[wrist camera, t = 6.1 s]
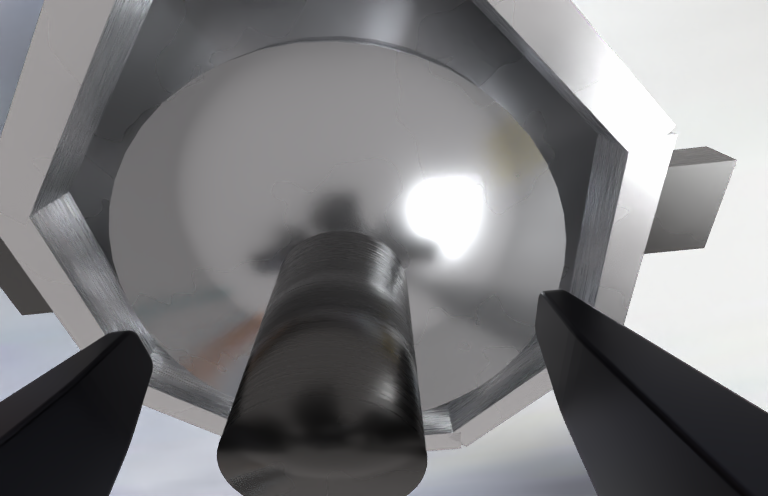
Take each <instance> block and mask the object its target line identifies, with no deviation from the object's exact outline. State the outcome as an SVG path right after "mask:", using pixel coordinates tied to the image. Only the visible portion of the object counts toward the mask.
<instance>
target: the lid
mask: <svg viewBox="0 0 768 496" xmlns="http://www.w3.org/2000/svg"><path fill="white" fill-rule="evenodd" d="M109 238H110V245H111V252H112V259H113V262H114V266H115V269H116V272H117V275H118V279H119V282H120V285H121V287H122V289H123V291H124V293H125V295H126V297H127V299H128V302H129V304H130V306H131V307H132V309H133V311H134V312H135V314H136V315H137V317H138V318H139V320H140V321H141V323H142V324H143V326H144V327H145V329H146V330H147V331H148V332H149V333H150V334H151V336H152V337H153V338H154V339H155V340H156V342H157V343H158V344H159V345H160V346H161V347H162V348H163V349H164V350H165V351H166V352H167V353H168V354H169V355H170V356H171V357H172V358H173V359H174V360H176V361H177V362H178V363H179V364H180V365H182V366H183V367H184V368H186V369H187V370H188V371H190V372H191V373H192V374H193V375H195V376H196V377H198V378H199V379H201V380H202V381H204V382H206V383H207V384H209V385H211V386H212V387H214V388H215V389H217V390H219V391H221V392H223V393H225V394H227V395H229V396H231V397H233V398H235V399H234V402H233V405H232V408H231V411H230V413H229V416H228V419H227V422H226V425H225V428H224V431H223V433H222V436H221V439H220V442H219V446H218V449H217V461H218V466H219V468H220V471H221V473H222V475H223V476H224V478H225V479H226V481H227V482H228V483H229V484H230V485H231V486H232V487H233V488H234V489H235V490H237V491H238V492H239V493H240V494H242V495H243V496H407V495H408V494H409V493H411V492H412V491H413V490H414V489H415V488H416V487H417V485H418V484H419V483H420V482H421V480H422V478H423V476H424V474H425V471H426V468H427V452H426V443H425V434H424V426H423V417H422V411H426V410H429V409H432V408H435V407H438V406H440V405H443V404H445V403H447V402H450V401H452V400H455V399H457V398H459V397H461V396H462V395H464V394H466V393H468V392H470V391H472V390H474V389H476V388H477V387H479V386H480V385H482V384H483V383H485V382H486V381H488V380H489V379H491V378H492V377H494V376H495V375H496V374H497V373H499V372H500V371H501V370H502V369H503V368H505V367H506V366H507V365H508V364H509V363H510V362H511V361H512V360H513V359H514V358H515V357H516V356H517V355H518V354H519V353H520V352H521V351H522V350H523V349H524V348H525V347H526V346H527V344H528V343H529V342H530V340H531V339H532V338H533V336H534V335H535V334H536V332H535V320H536V312H537V304H538V297H539V294H540V293H541V292H542V291H547V290H557V289H559V285H560V280H561V276H562V272H563V268H564V261H565V249H566V233H565V220H564V212H563V208H562V204H561V200H560V196H559V192H558V188H557V186H556V184H555V181H554V179H553V176H552V174H551V172H550V169H549V167H548V165H547V162H546V161H545V159H544V158H543V156H542V154H541V153H540V151H539V150H538V148H537V147H536V145H535V143H534V142H533V140H532V139H531V137H530V136H529V134H528V133H527V132H526V131H525V130H524V129H523V128H522V127H521V125H520V124H519V123H518V122H517V121H516V120H515V119H514V118H513V116H512V115H511V114H510V113H509V112H508V111H507V110H506V109H505V108H503V107H502V106H501V105H500V104H499V103H497V102H496V101H495V100H494V99H493V98H491V97H490V96H489V95H488V94H487V93H485V92H484V91H483V90H482V89H481V88H479V87H478V86H477V85H476V84H475V83H473V82H472V81H471V80H470V79H469V78H467V77H466V76H464V75H462V74H461V73H459V72H457V71H456V70H454V69H452V68H451V67H449V66H447V65H446V64H444V63H442V62H441V61H439V60H437V59H434V58H432V57H429V56H427V55H425V54H422V53H420V52H417V51H415V50H413V49H410V48H407V47H403V46H399V45H396V44H392V43H388V42H384V41H380V40H376V39H367V38H357V37H348V36H325V37H305V38H300V39H295V40H290V41H285V42H280V43H275V44H271V45H268V46H266V47H263V48H260V49H257V50H255V51H252V52H249V53H246V54H243V55H241V56H238V57H236V58H234V59H231V60H229V61H226V62H224V63H222V64H220V65H218V66H216V67H214V68H213V69H211V70H209V71H207V72H205V73H204V74H202V75H200V76H198V77H196V78H194V79H193V80H191V81H189V82H188V83H187V84H186V85H184V86H183V87H182V88H180V89H179V90H178V91H177V92H175V93H174V94H173V95H172V96H170V97H169V98H168V99H167V100H165V101H164V102H163V103H162V104H161V105H160V106H159V107H158V108H157V110H156V111H155V112H154V113H153V114H152V115H151V116H150V117H149V119H148V120H147V121H146V122H145V123H144V124H143V125H142V126H141V128H140V130H139V131H138V133H137V134H136V136H135V138H134V139H133V141H132V143H131V144H130V146H129V148H128V149H127V151H126V152H125V155H124V157H123V160H122V162H121V165H120V168H119V170H118V173H117V175H116V178H115V181H114V186H113V191H112V196H111V201H110V207H109Z"/></svg>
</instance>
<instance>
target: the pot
mask: <svg viewBox="0 0 768 496" xmlns="http://www.w3.org/2000/svg"><path fill="white" fill-rule="evenodd" d="M325 36H348V37H357V38H367V39H376V40H380V41H384V42H388V43H392V44H396V45H399V46H403V47H407V48H410V49H413V50H415V51H417V52H420V53H422V54H425V55H427V56H429V57H432V58H434V59H437V60H439V61H441V62H442V63H444V64H446V65H447V66H449V67H451V68H452V69H454V70H456V71H457V72H459V73H461V74H462V75H464V76H466V77H467V78H469V79H470V80H471V81H472V82H473V83H475V84H476V85H477V86H478V87H479V88H481V89H482V90H483V91H484V92H485V93H487V94H488V95H489V96H490V97H491V98H493V99H494V100H495V101H496V102H497V103H499V104H500V105H501V106H502V107H503V108H505V109H506V110H507V111H508V112H509V113H510V114H511V115H512V116H513V118H514V119H515V120H516V121H517V122H518V123H519V124H520V125H521V127H522V128H523V129H524V130H525V131H526V132H527V133H528V134H529V136H530V137H531V139H532V140H533V142H534V143H535V145H536V147H537V148H538V150H539V151H540V153H541V154H542V156H543V158H544V159H545V161H546V162H547V165H548V167H549V169H550V172H551V174H552V176H553V179H554V181H555V184H556V186H557V188H558V192H559V196H560V200H561V204H562V208H563V212H564V220H565V233H566V249H565V261H564V268H563V272H562V276H561V280H560V285H559V289H563V290H565V291H567V292H569V293H571V294H572V295H574V296H576V297H577V298H579V299H581V300H582V301H584V302H586V303H587V304H589V305H591V306H592V307H594V308H596V309H597V310H599V311H601V312H602V313H604V314H605V315H607V316H609V317H610V318H612V319H614V320H615V321H617V322H619V323H620V324H622V325H624V322H625V319H626V315H627V311H628V308H629V304H630V301H631V297H632V294H633V290H634V287H635V283H636V279H637V276H638V272H639V269H640V265H641V262H642V258H643V255H644V254H647V253H657V252H667V251H678V250H688V249H698V248H704V247H705V244H706V242H707V239H708V236H709V234H710V231H711V228H712V226H713V223H714V220H715V218H716V215H717V212H718V210H719V207H720V204H721V202H722V199H723V196H724V193H725V191H726V188H727V185H728V183H729V180H730V177H731V175H732V172H733V169H734V167H735V164H736V161H737V160H736V159H733V158H731V157H729V156H727V155H724V154H722V153H720V152H718V151H715V150H713V149H711V148H709V147H697V148H688V149H679V150H673V148H674V144H675V141H676V137H677V134H675V133H673V132H670V131H671V130H672V129H673V128H674V127H676V126H675V124H674V123H673V122H672V121H671V120H670V118H669V117H668V116H667V115H666V114H665V112H664V111H663V110H662V109H661V108H660V106H659V105H658V104H657V103H656V102H655V100H654V99H653V98H652V97H651V96H650V94H649V93H648V92H647V91H646V90H645V88H644V87H643V86H642V85H641V84H640V82H639V81H638V80H637V79H636V78H635V76H634V75H633V74H632V73H631V72H630V70H629V69H628V68H627V67H626V66H625V64H624V63H623V62H622V61H621V60H620V58H619V57H618V56H617V55H616V54H615V52H614V51H613V50H612V49H611V48H610V46H609V45H608V44H607V43H606V42H605V40H604V39H603V38H602V37H601V36H600V34H599V33H598V32H597V31H596V30H595V28H594V27H593V26H592V25H591V24H590V23H589V21H588V20H587V19H586V18H585V17H584V15H583V14H582V13H581V12H580V11H579V9H578V8H577V7H576V6H575V5H574V3H573V2H572V1H571V0H44V3H43V6H42V9H41V12H40V15H39V18H38V22H37V25H36V28H35V31H34V34H33V37H32V40H31V43H30V47H29V50H28V53H27V56H26V59H25V62H24V65H23V68H22V72H21V75H20V78H19V81H18V84H17V87H16V90H15V94H14V97H13V100H12V103H11V106H10V109H9V112H8V115H7V119H6V122H5V125H4V128H3V131H2V134H1V137H0V287H1V288H2V290H3V291H4V292H5V294H6V295H7V296H8V297H9V299H10V300H11V301H12V303H13V304H14V305H15V307H16V308H17V309H18V310H19V312H20V313H21V314H22V315H29V314H39V313H49V312H54V313H55V315H56V316H57V318H58V319H59V320H60V322H61V323H62V325H63V326H64V327H65V329H66V330H67V332H68V333H69V335H70V336H71V337H72V339H73V340H74V342H75V343H76V344H77V346H78V347H79V349H80V350H82V349H84V348H86V347H87V346H89V345H90V344H92V343H93V342H95V341H97V340H98V339H100V338H101V337H103V336H104V335H106V334H108V333H110V332H115V331H126V330H130V331H134V332H135V333H137V335H138V336H139V338H140V339H141V341H142V343H143V345H144V346H145V348H146V350H147V351H148V353H149V355H150V357H151V359H152V362H153V372H152V375H151V379H150V382H149V385H148V388H147V392H146V395H145V398H144V401H143V404H142V405H144V406H147V407H149V408H152V409H154V410H157V411H159V412H162V413H164V414H167V415H170V416H172V417H175V418H177V419H180V420H182V421H185V422H187V423H190V424H192V425H195V426H197V427H200V428H202V429H205V430H207V431H210V432H212V433H215V434H218V435H220V436H222V433H223V431H224V428H225V425H226V422H227V419H228V416H229V413H230V411H231V408H232V405H233V402H234V399H235V398H233V397H231V396H229V395H227V394H225V393H223V392H221V391H219V390H217V389H215V388H214V387H212V386H211V385H209V384H207V383H206V382H204V381H202V380H201V379H199V378H198V377H196V376H195V375H193V374H192V373H191V372H190V371H188V370H187V369H186V368H184V367H183V366H182V365H180V364H179V363H178V362H177V361H176V360H174V359H173V358H172V357H171V356H170V355H169V354H168V353H167V352H166V351H165V350H164V349H163V348H162V347H161V346H160V345H159V344H158V343H157V342H156V340H155V339H154V338H153V337H152V336H151V334H150V333H149V332H148V331H147V330H146V329H145V327H144V326H143V324H142V323H141V321H140V320H139V318H138V317H137V315H136V314H135V312H134V311H133V309H132V307H131V306H130V304H129V302H128V299H127V297H126V295H125V293H124V291H123V289H122V287H121V285H120V282H119V279H118V275H117V272H116V269H115V266H114V262H113V259H112V252H111V245H110V238H109V207H110V201H111V196H112V191H113V186H114V181H115V178H116V175H117V173H118V170H119V168H120V165H121V162H122V160H123V157H124V155H125V152H126V151H127V149H128V148H129V146H130V144H131V143H132V141H133V139H134V138H135V136H136V134H137V133H138V131H139V130H140V128H141V126H142V125H143V124H144V123H145V122H146V121H147V120H148V119H149V117H150V116H151V115H152V114H153V113H154V112H155V111H156V110H157V108H158V107H159V106H160V105H161V104H162V103H163V102H164V101H165V100H167V99H168V98H169V97H170V96H172V95H173V94H174V93H175V92H177V91H178V90H179V89H180V88H182V87H183V86H184V85H186V84H187V83H188V82H189V81H191V80H193V79H194V78H196V77H198V76H200V75H202V74H204V73H205V72H207V71H209V70H211V69H213V68H214V67H216V66H218V65H220V64H222V63H224V62H226V61H229V60H231V59H234V58H236V57H238V56H241V55H243V54H246V53H249V52H252V51H255V50H257V49H260V48H263V47H266V46H268V45H271V44H275V43H280V42H285V41H290V40H295V39H300V38H305V37H325ZM552 389H553V387H552V384H551V381H550V378H549V374H548V371H547V368H546V365H545V362H544V359H543V356H542V352H541V349H540V346H539V343H538V340H537V337H536V334H535V335H534V336H533V338H532V339H531V340H530V342H529V343H528V344H527V346H526V347H525V348H524V349H523V350H522V351H521V352H520V353H519V354H518V355H517V356H516V357H515V358H514V359H513V360H512V361H511V362H510V363H509V364H508V365H507V366H506V367H505V368H503V369H502V370H501V371H500V372H499V373H497V374H496V375H495V376H494V377H492V378H491V379H489V380H488V381H486V382H485V383H483V384H482V385H480V386H479V387H477V388H476V389H474V390H472V391H470V392H468V393H466V394H464V395H462V396H461V397H459V398H457V399H455V400H452V401H450V402H447V403H445V404H443V405H440V406H438V407H435V408H432V409H429V410H426V411H422V417H423V426H424V434H425V443H426V451H433V450H445V449H458V448H461V444H462V445H464V446H468V445H469V444H471V443H472V442H474V441H475V440H477V439H478V438H480V437H481V436H483V435H484V434H486V433H487V432H489V431H490V430H492V429H493V428H495V427H496V426H498V425H500V424H501V423H503V422H504V421H506V420H507V419H509V418H510V417H512V416H513V415H515V414H516V413H518V412H519V411H521V410H522V409H524V408H525V407H527V406H528V405H530V404H531V403H533V402H534V401H536V400H537V399H539V398H540V397H542V396H543V395H545V394H546V393H548V392H549V391H551V390H552Z"/></svg>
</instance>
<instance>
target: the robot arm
mask: <svg viewBox="0 0 768 496" xmlns="http://www.w3.org/2000/svg"><path fill="white" fill-rule="evenodd" d="M535 332H536V337H537V340H538V343H539V346H540V349H541V352H542V356H543V359H544V362H545V365H546V368H547V371H548V374H549V378H550V381H551V384H552V387H553V390H554V393H555V396H556V400H557V402H558V405H559V408H560V411H561V414H562V416H563V419H564V421H565V423H566V426H567V428H568V430H569V432H570V435H571V437H572V439H573V441H574V444H575V446H576V448H577V450H578V453H579V455H580V457H581V459H582V462H583V464H584V466H585V468H586V470H587V473H588V475H589V477H590V479H591V482H592V484H593V486H594V488H595V491H596V493H597V495H598V496H768V413H767V412H766V411H764V410H762V409H761V408H759V407H758V406H756V405H754V404H753V403H751V402H749V401H748V400H746V399H744V398H743V397H741V396H739V395H738V394H736V393H734V392H733V391H731V390H729V389H728V388H726V387H724V386H723V385H721V384H720V383H718V382H716V381H715V380H713V379H711V378H710V377H708V376H706V375H705V374H703V373H701V372H700V371H698V370H696V369H695V368H693V367H691V366H690V365H688V364H686V363H685V362H683V361H682V360H680V359H678V358H677V357H675V356H673V355H672V354H670V353H668V352H667V351H665V350H663V349H662V348H660V347H658V346H657V345H655V344H653V343H652V342H650V341H648V340H647V339H645V338H643V337H642V336H640V335H639V334H637V333H635V332H634V331H632V330H630V329H629V328H627V327H625V326H624V325H622V324H620V323H619V322H617V321H615V320H614V319H612V318H610V317H609V316H607V315H605V314H604V313H602V312H601V311H599V310H597V309H596V308H594V307H592V306H591V305H589V304H587V303H586V302H584V301H582V300H581V299H579V298H577V297H576V296H574V295H572V294H571V293H569V292H567V291H565V290H563V289H557V290H547V291H542V292H541V293H540V294H539V297H538V304H537V312H536V320H535ZM152 372H153V362H152V359H151V357H150V355H149V353H148V351H147V350H146V348H145V346H144V345H143V343H142V341H141V339H140V338H139V336H138V335H137V333H135V332H134V331H130V330H126V331H115V332H110V333H108V334H106V335H104V336H103V337H101V338H100V339H98V340H97V341H95V342H93V343H92V344H90V345H89V346H87V347H86V348H84V349H82V350H81V351H79V352H78V353H76V354H75V355H73V356H72V357H70V358H68V359H67V360H65V361H64V362H62V363H61V364H59V365H57V366H56V367H54V368H53V369H51V370H50V371H48V372H46V373H45V374H43V375H42V376H40V377H39V378H37V379H36V380H34V381H32V382H31V383H29V384H28V385H26V386H25V387H23V388H21V389H20V390H18V391H17V392H15V393H14V394H12V395H10V396H9V397H7V398H6V399H4V400H3V401H1V402H0V496H109V494H110V492H111V490H112V487H113V485H114V483H115V480H116V478H117V475H118V473H119V471H120V468H121V466H122V463H123V461H124V459H125V456H126V453H127V451H128V448H129V445H130V442H131V439H132V437H133V434H134V430H135V427H136V424H137V421H138V417H139V414H140V411H141V408H142V404H143V401H144V398H145V395H146V392H147V388H148V385H149V382H150V379H151V375H152Z"/></svg>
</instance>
